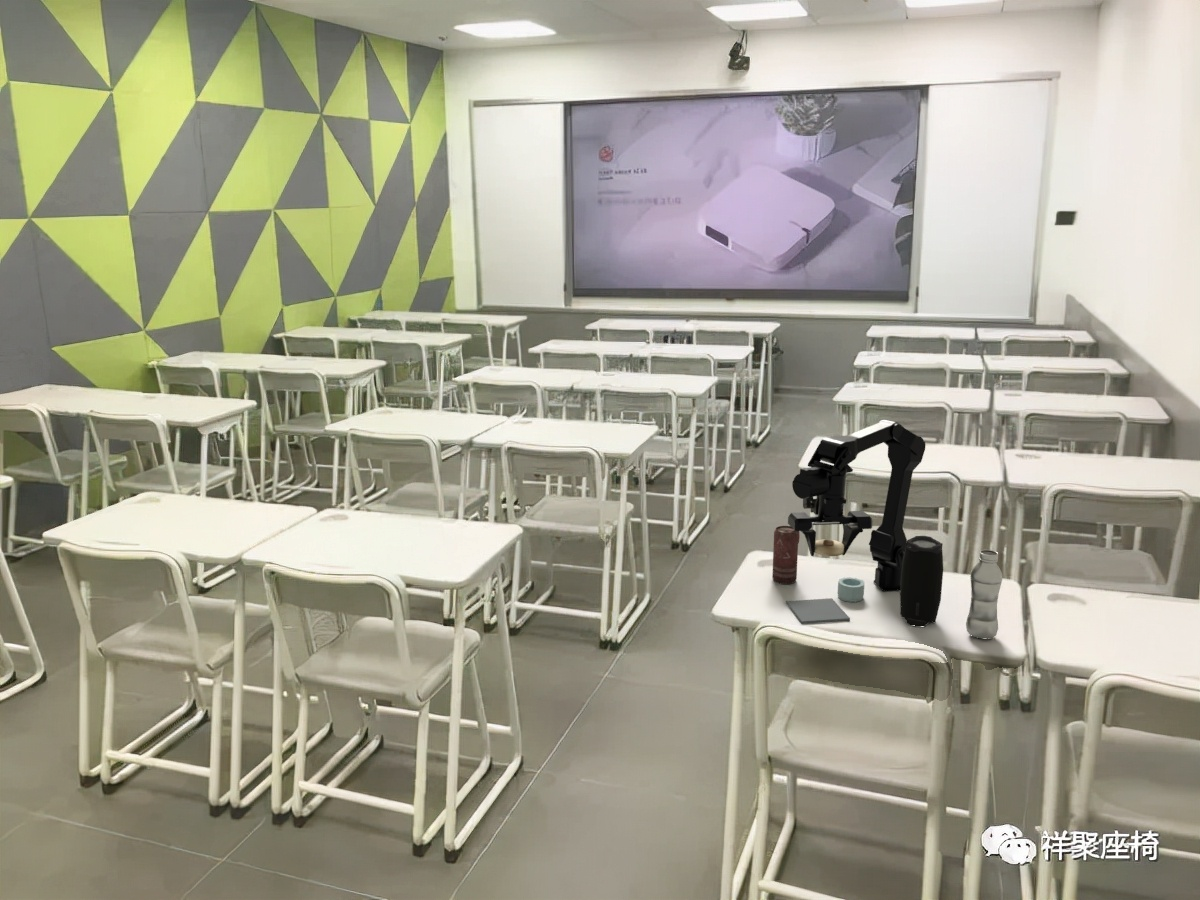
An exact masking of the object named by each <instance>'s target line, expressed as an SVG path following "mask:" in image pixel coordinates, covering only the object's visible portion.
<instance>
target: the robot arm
mask: <svg viewBox="0 0 1200 900" xmlns="http://www.w3.org/2000/svg"><path fill="white" fill-rule="evenodd" d="M924 440H925V439H924V437H922V436H920V435H917V434H915V433H914V432H912V431H910V430H909V429H907V428H905V427H904V426H903V425H902V424H901V423H899V422H898V421H897V422H896V421H893V420H889V419H882V420H879V421H878V422H877V423H875V424H872V425H869V426H867V427H865V428H862V429H860V430H858V431H855V432H853V433H852V432H851V433H850V434H848V435H833V436H832V435H831V436H826V437H824V438H822V439H821V440H820V442H819V444H818V445H817V447H816V449H815V450H814V453H813V455H812V456H811V458H810V460H809V461H808V463H807V468H806V467H801V468H800V469H799V473H798V474H796V475H795V477H794V478H793V481H792V484H791V485H792V490H793V493H794V494H795V496H796V497H797V498H799V499H802V508H803V509H804V510H805V509H810V510H809V511H810V513H812V514H814V515H815V516H809V515H808V513H806V512H804V511H803V512H790V514H789V515H788V517H787V524H788V526H791V527H792V528H793V529H794V530H795V531H799V532H801V533H802V534H803V535H804V538H805V540H806V544H807V547H808V549H809V554H810V556H811V557H814V556H815V541H816V540H817V536H816V535H817V532H816V531H815V529H814V526H824V525H825V526H826V525H830V526H831V525H842V529H843V530H842V531H843V533H842V539H841V540H842V541H841V543H842V544H844V553H843V554H842V555H841V556H845V554H846V553H847V551H848V550H849V548H850V547H851V545H852V544H853V542H854V540H855V539H856V538H857V537H858V535H859V534H860V533H863V532H864V530H871V529H872V528H873V523H874V522H873V518H872V517H871V516H870V515H869V514H868V513H867V512H865V511H864V510H849V511H848V513H847V515H844V509H845V506H844V505H845V504H847V499H846V498H845V494H846V492H845V491H846V481H847V479H846V478H847V474H848V473H852V472H853V471H854V468H852V467H851V466H850V465H849V464H850V463H852V462H853V461H855V460H856V459H857V457H858V455H859V454H860V453H862V452H864V451H866V450H869V449H871V448H873V447H876V446H878V445H880V444H883V443H884V444H885V445H886V446H887V459H888V460H889V463H890V467H891V471H890V475H889V483H888V487H887V488H888V489H887V494H886V500H885V505H884V508H883V509H884V510H883V516H882V521H881V524H880V525H879V526H878V527H877V528H876V529H873V530H872V531H871V533H870V539H869V542H868V545H869V552H871V557H872V561H874V562H877V567H875V574H874V579H873V584H875V585H876V586H877V587H878V588H879V589H880V590H881V591H882V592H900V585H901V571H902V561H903V556H904V552H905V547H906V543H907V540H908V539H907V536H906V533H905V530H904V528H903V526H904V520H905V516H906V510H907V505H908V499H909V494H910V488H911V485H912V484H911V483H912V477H913V473H914V470H915V469H916V468H917V467H918V466H919V465H920V464H921V463H922V461H923V457H924V454H925V451H926V442H925V441H924ZM814 497H816V498H814ZM816 515H817V516H816Z"/></svg>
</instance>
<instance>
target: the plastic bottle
mask: <svg viewBox="0 0 1200 900" xmlns="http://www.w3.org/2000/svg"><path fill="white" fill-rule="evenodd" d="M978 561H979V562H977V563H976V564H975V565H974V566H973V567H972V569H971V571H970V586H971V587H970V588H971V590H970V591H971V592H970V593H971V594H970V596H971V597H970V606H969V611H968V615H967V618H966V622H965V629H966V632H967V633H968V635H969V634H970V635H969V636H971V635H972V636H974V637H973V638H975V637H978V638H987V639H986V640H989V639H988V638H992V639H994V638H995V637H996V636H997V634H998V631H999V621H998V602H999V600H998V599H999V596H1000V590H1001V587H1002V583H1003V577H1004V576H1003V573H1002V571H1001V569H1000V567H999V565H998V564H997V563H998V561H999V553H998V552H997V551H995V550H991V549H982V550H980V551H979V555H978ZM972 636H971V637H972ZM993 637H994V638H993ZM978 638H977V639H978Z"/></svg>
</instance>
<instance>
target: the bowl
mask: <svg viewBox="0 0 1200 900" xmlns="http://www.w3.org/2000/svg"><path fill="white" fill-rule="evenodd" d="M864 596H865V582H864V580H862V579H860V578H857V577H842V578H839V579H838V582H837V598H838V599H839V600H841V601H843V602H846V603H847V602H848V603H859V602H862V601H864Z"/></svg>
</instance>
